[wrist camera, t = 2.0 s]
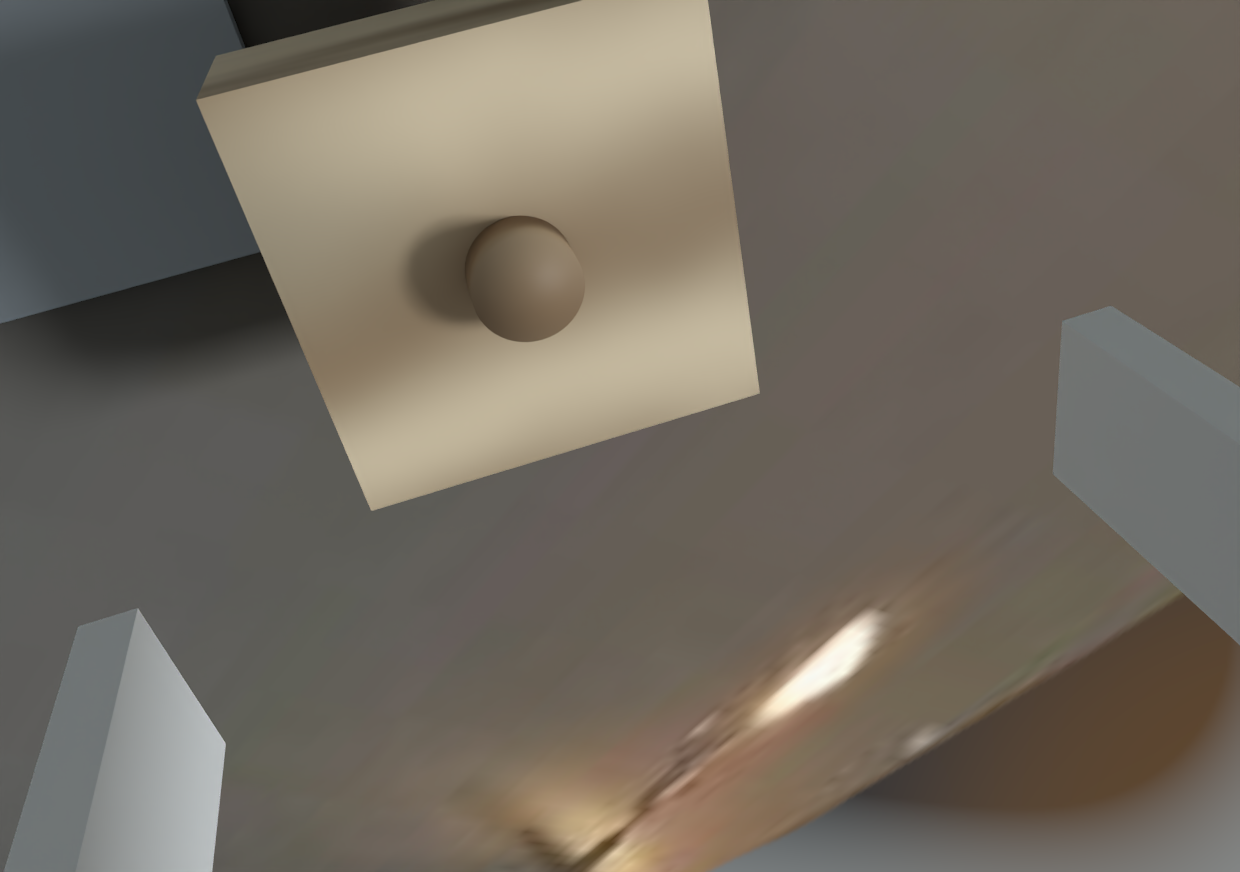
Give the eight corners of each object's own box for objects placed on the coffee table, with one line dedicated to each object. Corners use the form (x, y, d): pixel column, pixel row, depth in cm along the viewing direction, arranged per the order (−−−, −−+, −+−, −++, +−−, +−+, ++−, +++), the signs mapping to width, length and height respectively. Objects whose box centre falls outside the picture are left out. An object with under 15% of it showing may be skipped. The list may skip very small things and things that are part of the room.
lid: (215, 55, 22) (188, 116, 18) (649, -55, 23) (723, -23, 19) (366, 426, 28) (373, 541, 23) (709, 325, 29) (777, 416, 24)
